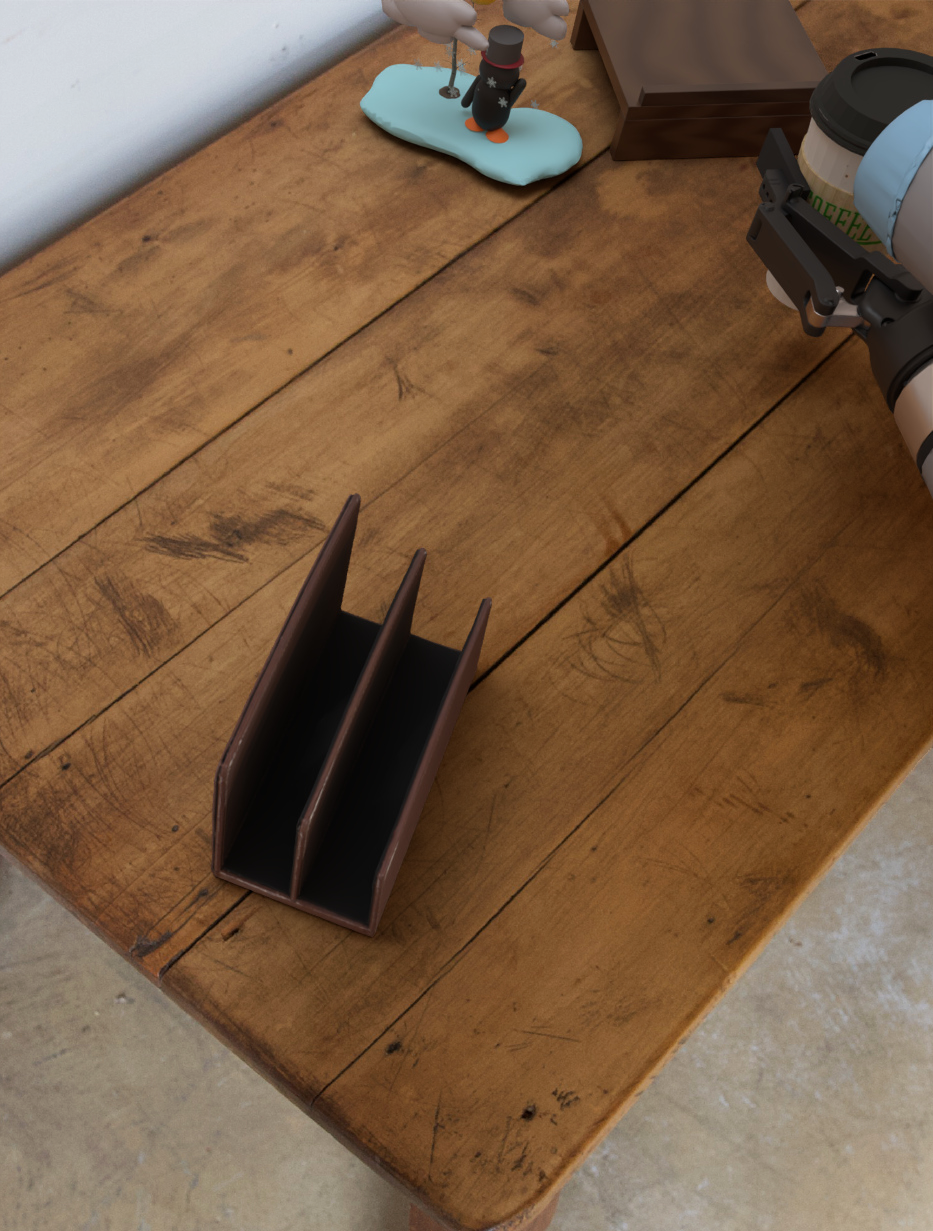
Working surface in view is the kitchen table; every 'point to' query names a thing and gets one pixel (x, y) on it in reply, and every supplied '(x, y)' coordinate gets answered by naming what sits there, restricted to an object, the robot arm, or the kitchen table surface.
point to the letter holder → (338, 746)
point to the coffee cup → (855, 132)
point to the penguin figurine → (476, 92)
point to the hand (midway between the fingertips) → (835, 143)
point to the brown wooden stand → (702, 74)
